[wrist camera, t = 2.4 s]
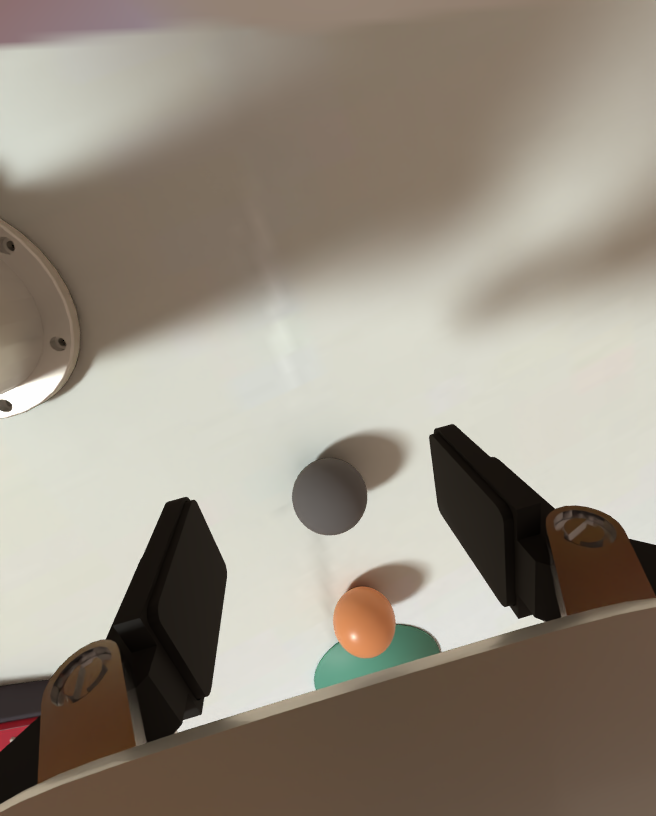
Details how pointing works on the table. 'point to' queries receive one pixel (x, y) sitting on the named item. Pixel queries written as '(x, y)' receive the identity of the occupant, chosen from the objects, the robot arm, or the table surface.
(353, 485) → the ball
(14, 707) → the calculator
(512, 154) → the table surface
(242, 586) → the table surface
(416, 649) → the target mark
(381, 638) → the ball
